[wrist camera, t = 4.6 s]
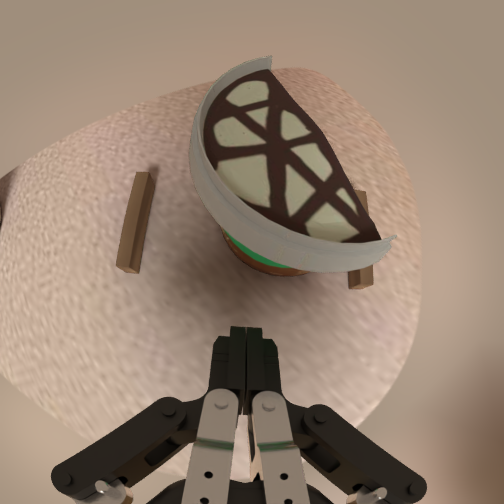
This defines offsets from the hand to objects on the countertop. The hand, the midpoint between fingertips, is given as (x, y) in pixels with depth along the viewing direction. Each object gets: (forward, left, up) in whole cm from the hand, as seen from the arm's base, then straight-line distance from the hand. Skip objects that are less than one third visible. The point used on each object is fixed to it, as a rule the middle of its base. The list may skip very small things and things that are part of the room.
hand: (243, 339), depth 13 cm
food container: (0, +8, -5) cm, 9 cm away
